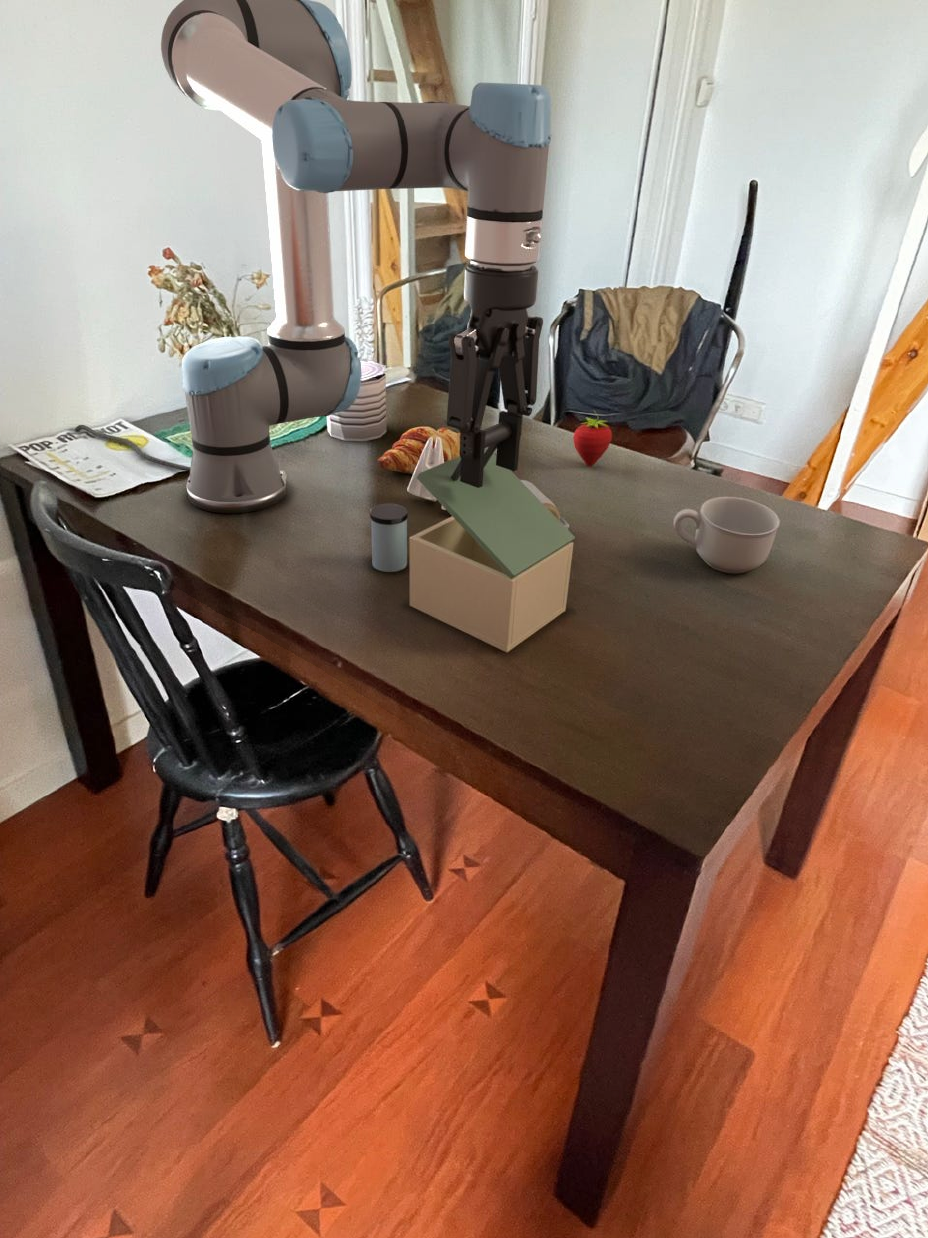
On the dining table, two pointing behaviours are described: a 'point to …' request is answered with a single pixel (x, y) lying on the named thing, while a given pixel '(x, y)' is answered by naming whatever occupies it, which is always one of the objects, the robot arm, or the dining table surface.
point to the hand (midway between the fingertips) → (489, 474)
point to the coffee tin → (389, 537)
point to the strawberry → (592, 440)
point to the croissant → (418, 448)
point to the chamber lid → (498, 510)
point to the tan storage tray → (484, 587)
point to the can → (363, 408)
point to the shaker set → (426, 468)
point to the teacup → (731, 533)
